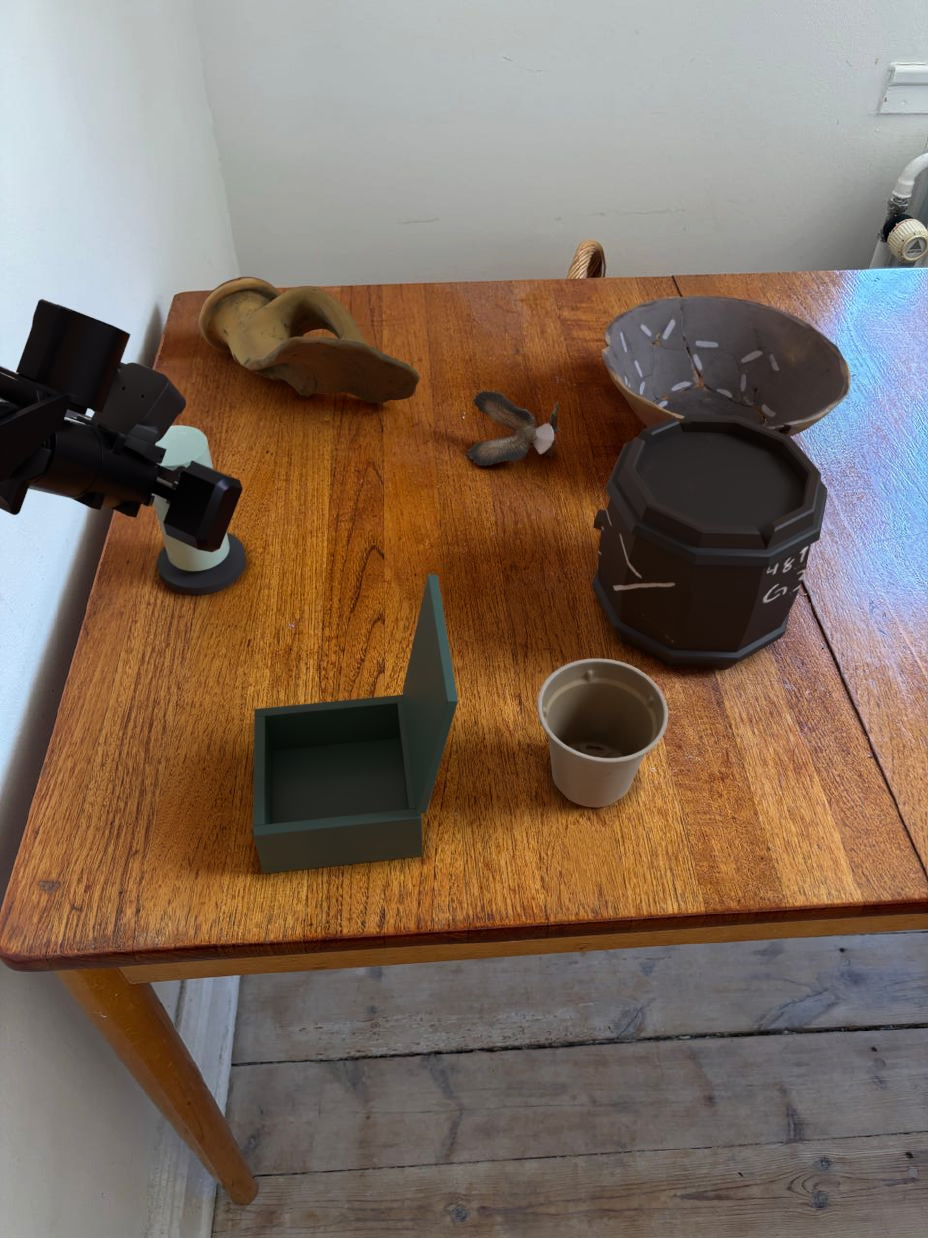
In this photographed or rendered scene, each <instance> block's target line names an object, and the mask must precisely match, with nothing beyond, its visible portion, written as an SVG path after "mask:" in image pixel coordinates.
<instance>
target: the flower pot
mask: <svg viewBox="0 0 928 1238" xmlns="http://www.w3.org/2000/svg"><path fill="white" fill-rule="evenodd" d="M536 709H537V710H536V711H537V716H538V720H539V723H540V725H541V727H542V729H543V731H544V733H545V734H546V736H547V738H548V747H549V756H550V765H551V766H550V767H551V777H552V780H553V782H554V785H555V786H556V787H557V789H558V790H559V791H560V792H561V793H562V794H563V795H564V796H565V798H566V799H567V800H569V801H571V802H572V803H574V804H577V805H579V806H583V807H586V808H604V807H605V808H606V807H608V806H611V805H612V804H614V803H616V802H617V801H619V800H620V799H622V798H623V797H625V795H626V794H627V793H628V792H629V790H630V788H631V786H632V783H633V782H634V779H635V777H636V775H637V773H638V771H639V769H640V767H641V765H642V762H643V761H644V758H645V756H646V755H647V754H649V752H651V751H652V750H653V749H655V748H656V747H657V745H658V744H659V743H660V741H662V739H663V737H664V735H665V733H666V730H667V726H668V722H669V721H668V720H669V708H668V703H667V700H666V697H665V696H664V693H663V692H662V690H661V689H660V687H659V686H658V685H657V683H656V682H655V681H654V680H653V679H652V678H651V677H650V676H649V675H647V674H646V673H645V672H643V671H642V670H640V669H639V668H637V667H634V666H633V665H631V664H628V663H626V662H623V661H619V660H615V659H610V658H585V659H579V660H575V661H571V662H569V663H566V664H564V665H562V666H560V667H559V668H557V669H556V670H554V671H553V672H552V673H551V674H550V675H548V677H547V678H546V679H545V681H544V682H543V683H542V685H541V687H540V690H539V692H538V696H537V703H536ZM587 747H597V748H599V749H594V748H587Z"/></svg>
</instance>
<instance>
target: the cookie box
mask: <svg viewBox="0 0 928 1238" xmlns="http://www.w3.org/2000/svg"><path fill="white" fill-rule="evenodd" d="M253 713H254V714H253V715H254V718H253V720H254V723H253V725H254V727H253V799H252V804H253V805H252V806H253V807H252V810H253V811H252V812H253V813H252V837H253V841H254V844H255V848H256V852H257V855H258V860H259V863H260V866H261V871H262V873H263V874H264V875H266V874H274V873H275V874H276V873H284V872H292V871H293V872H294V871H301V870H311V869H317V868H318V869H319V868H320V869H321V868H326V867H327V868H328V867H336V866H347V865H356V864H364V863H365V864H366V863H372V862H381V861H391V860H399V859H400V860H401V859H409V858H410V859H411V858H417V857H419V858H420V857H423V856H424V847H423V843H424V842H423V818H422V814H417V811H416V803H415V794H414V786H413V777H412V768H411V760H410V751H409V743H408V734H407V725H406V717H405V708H404V700H403V694H395V695H383V696H374V697H363V698H353V699H343V700H332V701H322V702H321V701H320V702H313V703H312V702H310V703H301V704H292V705H291V704H289V705H280V706H279V705H278V706H269V707H260V708H254V711H253Z"/></svg>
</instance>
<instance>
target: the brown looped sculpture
mask: <svg viewBox="0 0 928 1238" xmlns="http://www.w3.org/2000/svg"><path fill="white" fill-rule="evenodd" d="M198 326H199V329H200V333H201V335H202V336H203V339H205V341H206V342H207V343H208V344H209V345H210V346H211V347H212V348H213V349H216V350H218V351H219V352H221V353H222V352H223V353H226V354H231V355H232V358H233V360H234V361H235V363H237V364H238V365H240V366H242V367H244V368H246V369H247V370H249V371H250V372H251V373H254V374H256V375H258V376H261V377H265V378H269V379H270V380H272V381H281V380H283V381H286V382H287V384H288V385H290V386H291V387H292V388H294V390H295V391H296V392H297V393H298V394H299V395H300V396H302V397H306V398H307V397H311V396H312V395H314V394H330V395H333V394H343V393H344V394H349V395H352V396H354V397H357V398H358V399H359V398H360V399H361V400H362V401H365V402H367V403H370V404H383V403H388V402H389V401H403V400H407V399H410V398H411V397H413V396H414V395H415V392H416V390H417V386H418V384H419V382H420V380H421V375H420V373H419V372H418V371H417V370H416V369H415V368H414V366H412V365H411V364H408V363H406V362H405V361H402V360H400V359H398V358H396V357H393V356H391V355H389V354H386V353H384V352H382V351H381V350H378V349H377V348H375V347H374V346H372V345H370V344H368V342H367V341H366V339H365V338H364V336H363V334H362V332H361V329H360V328H359V326H358V323H357V322H356V321H355V319H354V317H353V316H352V314H351V313H350V312H349V310H348V309H347V308H346V306H345V305H344V304H343V303H342V302H341V301H340V300H339V299H338V298H337V297H336V296H334V294H332V293H330V292H329V291H327V290H326V289H324V288H321V287H317V286H313V285H301V286H296V287H293V288H289V289H287V290H286V291H284V292H282V293H281V292H280V291H279V290H278V289H277V288H276V287H275V286H274V285H272V284H271V283H270V282H268V281H266V280H264V279H261V278H258V277H255V276H254V277H253V276H239V277H237V278H232V279H230V280H227V281H225V282H222V283H221V284H219V285H218V286H217V287H215V288H214V289H213V290H212V291H211V292H210V293H209V295H208V296H207V297H206V299H205V300H204V303H203V305H202V308H201V311H200V313H199V318H198ZM317 330H327V331H328V332H330V333H331V334H333V335H334V336H335V337H329V336H322V335H314V336H313V335H311V336H305V335H306V334H307V333H310V332H312V331H317Z"/></svg>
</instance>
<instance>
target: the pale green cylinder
mask: <svg viewBox="0 0 928 1238" xmlns="http://www.w3.org/2000/svg"><path fill="white" fill-rule="evenodd" d="M155 445H158V446H160V447H163V448H165V449H167V450H166V453H165V456H164V458H163V461H162V463H161V464H160V465H162V466H165V467H167V468H169V469H171V470H175V469H176V468H177V467H178V466H185V467H188V466H189V465H190V463H191V461H192V460H193V461H195V462H197V463H199V464H202V465H205V466H207V467H210V468H213V469H214V465H213V461H212V456H211V451H210V446H209V442H208V438H207V436H206V434H204V432H203V431H202V430H200V429H198V428H196V427H193V426H188V425H171V426H170V428H169V429H168V431H167V432H166V434H165V435H164V437H163V438H162V439H161V440H160V441H158V442H156V444H155ZM157 480H158V481H161V482H163V483H165V484H167V485H170V486H172V483H170V482H167V481H165V480H162V479H160V478H157ZM152 495H153V496H155V499H154V502H153V506H154V511H155V515H156V518H157V521H158V524H159V525H158V526H159V529H160V531H161V535H162V539H163V540H162V541H163V543H164V547H166V551H167V554H168V558H169V560H170V562H171V563H172V564H173V565H174V566H176V567H177V568H179V569H182V570H186V571H202V570H206V569H209V568H212V567H214V566H216V565H218V564H219V563H221V562H222V561H223V560H224V559H225V558H226V556H227V555H228V552H229V541H228V536H227V533H228V531H227V532H226V535H225V537H224V540H223V542H222V545H221V548H220V549H218V550H216V551H214V552H207V551H201V550H198V549H195V548H193V547H191V546H189V545H187V544H185V543H183V542H181V541H179V540H176V539H174V538H172V537H170V536H168V535H166V531H165V528H164V524H163V521H164V519H165V516H166V513H167V511H168V508H169V505H168V504H166V499H164V498H162V497H160V496H157V495H155V494H153V493H152Z"/></svg>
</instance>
